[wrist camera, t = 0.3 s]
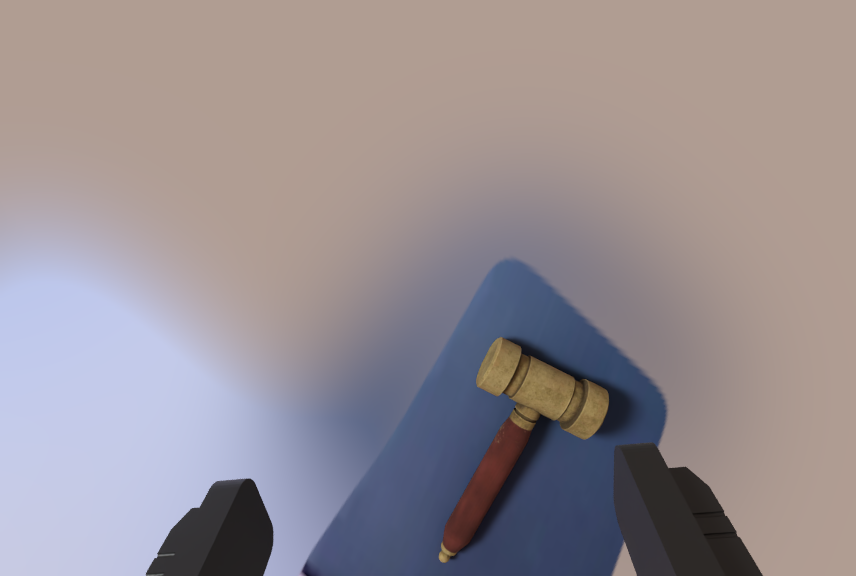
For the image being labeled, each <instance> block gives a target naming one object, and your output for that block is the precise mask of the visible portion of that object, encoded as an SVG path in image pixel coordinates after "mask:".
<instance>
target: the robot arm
mask: <svg viewBox="0 0 856 576" xmlns="http://www.w3.org/2000/svg"><path fill="white" fill-rule="evenodd" d="M614 505H615V511H616V516H617V520H618V523H619V527H620V529H621V532H622V535H623V538H624V541H625V543H626V546H627V549H628V551H629V554H630V557H631V560H632V563H633V565H634V568H635V571H636V573H637V576H763V575H762V573H761V572H760V570H759V569H758V567H757V565H756V563H755V562H754V560H753V558H752V557H751V555H750V553H749V552H748V550H747V549H746V547H745V545H744V544H743V542H742V540H741V539H740V537H738V536H737V534H736V530H735V529H734V527H733V525H732V524H731V522H730V520H729V519H728V517H727V516H725V514H724V510H723V509H722V507H721V505H720V504H719V502H718V500H717V499H716V497H715V495H714V494H713V492H712V491H711V489H710V487H709V486H708V485H707V484H705V483H704V482H703V481H702V480H701V479H700V478H699V477H697V476H696V475H695V474H694V473H693V472H691V471H690V470H689V469H688V468H687V467H678V468H668V467H667V465H666V463H665V461H664V459H663V457H662V456H661V454H660V452H659V450H658V448H657V446H656V445H655V444H654V443H640V444H629V445H617V446H615V451H614ZM272 546H273V526H272V523H271V520H270V518H269V516H268V513H267V511H266V508H265V506H264V504H263V501H262V499H261V496H260V494H259V491H258V489H257V487H256V484H255V482H254V481H253V480H251V479H238V480H226V481H217V482H215V483H214V484H213V485H212V486H211V488H210V489H209V491H208V493H207V495H206V497H205V499H204V501H203V502H202V504H201V506H200V508H192V509H191V510H190V511H189V512H188V513H187V514H186V515H185V516H184V517H183V518H182V519H181V520H180V521H179V522H178V523H177V524H176V525H175V526H174V527H173V528H172V529H171V531H170V533H169V534H168V536H167V538H166V540H165V541H164V543H163V545H162V546H161V548H160V550H159V552H158V553H157V554H158V557H157V558H155V559H154V560H153V562H152V564H151V566H150V567H149V569H148V571H147V573H146V576H263V574H264V572H265V569H266V566H267V563H268V560H269V557H270V555H271V551H272Z"/></svg>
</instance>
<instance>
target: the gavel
mask: <svg viewBox="0 0 856 576" xmlns="http://www.w3.org/2000/svg"><path fill="white" fill-rule="evenodd" d="M476 383H477V386H478V387H479V388H481V389H483V390H485V391H487V392H489V393H491V394H493V395H495V396H499V395H500V394H501V393H504V394H506V395H508V396H509V398H510V399H512V400H514V401H516V402H517V403H516V405H515V407H516V408H514V409H513V411H512V413H511V415H510V416H509V417H508V419H507V420H506V421H505V422H504V423H503V425H502V426H501V427H500V429H499V431H498V433H497V435H496V436H495V438H494V440H493V442H492V443H491V445H490V447H489V449H488V450H487V452H486V454H485V456H484V458H483V459H482V461H481V463H480V465H479V466H478V468H477V470H476V472H475V474H474V475H473V477H472V479H471V481H470V482H469V484H468V486H467V488H466V489H465V491H464V493H463V495H462V497H461V498H460V500H459V502H458V504H457V505H456V507H455V509H454V511H453V513H452V514H451V516H450V518H449V520H448V521H447V523H446V525H445V530H444V537H443V542H442V543H441V548H442V551H441V552H440V553H439V559H440V561H441V562H443V563H446V562H448V561H449V559H450V556H454V555H456V553H457V552H458V551H459V550H461V549H462V548H463V547H465V546H466V545H467V544H468V543H469V542H470V541H471V539H472V537H473V536H474V534H475V532H476V530H477V529H478V527H479V525H480V523H481V522H482V520H483V518H484V517H485V515H486V513H487V511H488V510H489V508H490V506H491V505H492V503H493V501H494V499H495V498H496V496H497V494H498V492H499V491H500V489H501V487H502V486H503V484H504V482H505V480H506V479H507V477H508V475H509V474H510V472H511V470H512V468H513V467H514V465H515V463H516V461H517V460H518V458H519V456H520V455H521V453H522V451H523V449H524V448H525V446H526V444H527V442H528V440H529V437H530V434H531V431H532V429H533V427H534V425H535V424H536V420H538V419H539V417H540V416H541V414H542V415H544V416H546V417H548V418H550V419H552V420H558V421H560V426H561V428H562V429H563V430H565V431H567V432H569V433H571V434H573V435H575V436H577V437H579V438H581V439H587V438H589V437H591V436H592V435H593V434H594V433H596V431H597V430H598V429H599V428H600V426H601V424H602V423H603V421H604V419H605V416H606V413H607V410H608V405H609V396H608V392H607V390H606V389H604V388H602V387H600V386H598V385H596V384H594V383H592V382H590V381H588V380H586V379H582V380H580V381H579V382H578V381H576V380H574V378H573V377H572V376H570V375H568V374H566V373H564V372H562V371H560V370H558V369H556V368H554V367H552V366H550V365H548V364H546V363H544V362H542V361H540V360H538V359H536V358H534V357H532V356H526V355H524V354H522V353H521V347H520V346H518V345H516V344H514V343H512V342H510V341H508V340H506V339H504V338H502V337H500V338H498V339H496V340H495V341H494V343H493V344H492V345H491V347H490V349H489V351H488V353H487V354H486V356H485V358H484V360H483V362H482V364H481V367H480V369H479V372H478V375H477V379H476Z"/></svg>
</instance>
